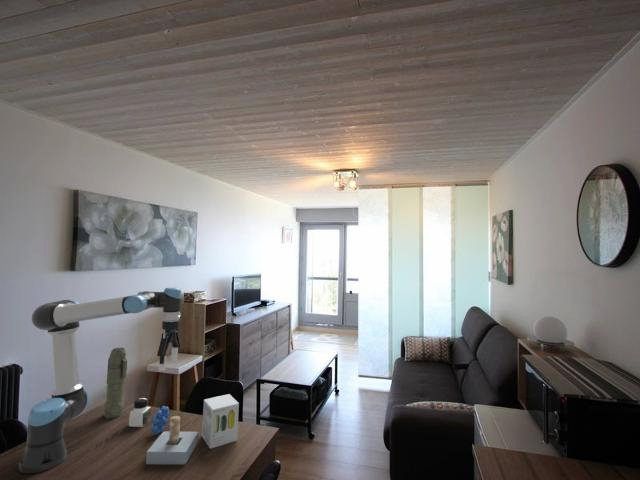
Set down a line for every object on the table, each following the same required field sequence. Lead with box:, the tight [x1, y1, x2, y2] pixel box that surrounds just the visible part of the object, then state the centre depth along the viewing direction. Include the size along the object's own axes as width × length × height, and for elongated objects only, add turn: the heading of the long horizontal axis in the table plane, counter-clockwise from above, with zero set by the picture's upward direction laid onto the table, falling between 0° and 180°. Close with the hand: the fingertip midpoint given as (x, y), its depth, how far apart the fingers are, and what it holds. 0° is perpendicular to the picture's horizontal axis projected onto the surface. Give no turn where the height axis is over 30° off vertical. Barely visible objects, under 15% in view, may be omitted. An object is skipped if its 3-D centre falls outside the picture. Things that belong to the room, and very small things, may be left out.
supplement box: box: [201, 393, 240, 450], centre depth 157 cm, size 13×13×18 cm
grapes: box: [150, 405, 171, 436], centre depth 160 cm, size 12×7×12 cm, turn 169°
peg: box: [169, 415, 181, 445], centre depth 144 cm, size 4×4×14 cm
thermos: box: [103, 347, 128, 420], centre depth 176 cm, size 9×12×35 cm
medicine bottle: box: [128, 397, 152, 428], centre depth 168 cm, size 7×7×12 cm
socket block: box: [145, 430, 199, 465], centre depth 144 cm, size 16×16×5 cm
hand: (168, 365), depth 154 cm, fingers open, 13 cm apart
